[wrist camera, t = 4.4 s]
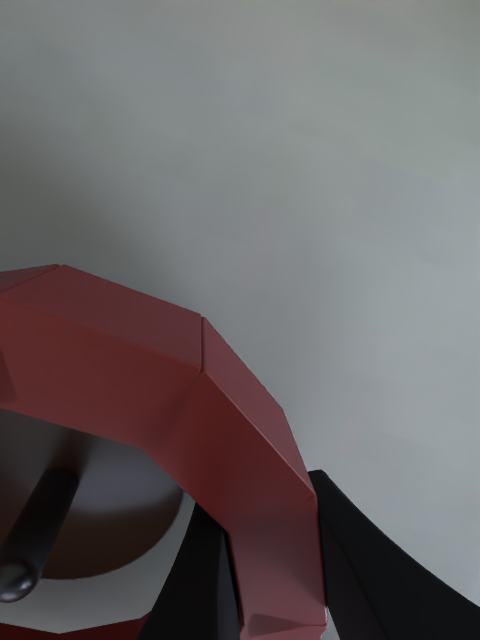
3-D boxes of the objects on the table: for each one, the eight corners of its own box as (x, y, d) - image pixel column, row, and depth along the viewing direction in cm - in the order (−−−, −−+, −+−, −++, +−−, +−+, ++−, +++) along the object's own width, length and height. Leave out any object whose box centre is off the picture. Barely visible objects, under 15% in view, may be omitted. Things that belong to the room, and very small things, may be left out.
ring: (308, 628, 14) (342, 761, 11) (-94, 706, 14) (-192, 876, 10) (263, 233, 10) (295, 250, 7) (-314, 317, 10) (-599, 381, 6)
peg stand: (203, 535, 15) (203, 680, 11) (-14, 574, 15) (-109, 742, 10) (163, 337, 13) (142, 414, 8) (-96, 377, 12) (-267, 481, 8)
